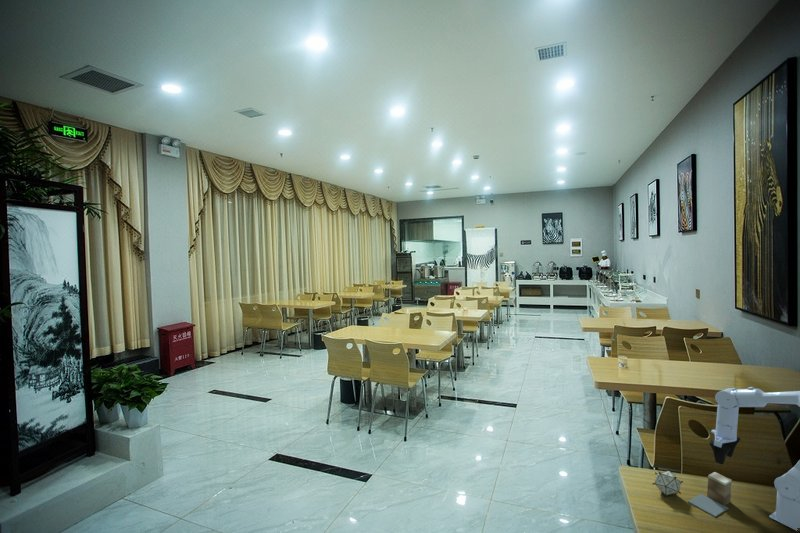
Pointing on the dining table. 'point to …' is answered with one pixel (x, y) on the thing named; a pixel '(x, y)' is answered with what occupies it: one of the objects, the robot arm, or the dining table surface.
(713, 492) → the pinkish beige block
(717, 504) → the mat
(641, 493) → the dining table surface
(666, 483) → the game die
